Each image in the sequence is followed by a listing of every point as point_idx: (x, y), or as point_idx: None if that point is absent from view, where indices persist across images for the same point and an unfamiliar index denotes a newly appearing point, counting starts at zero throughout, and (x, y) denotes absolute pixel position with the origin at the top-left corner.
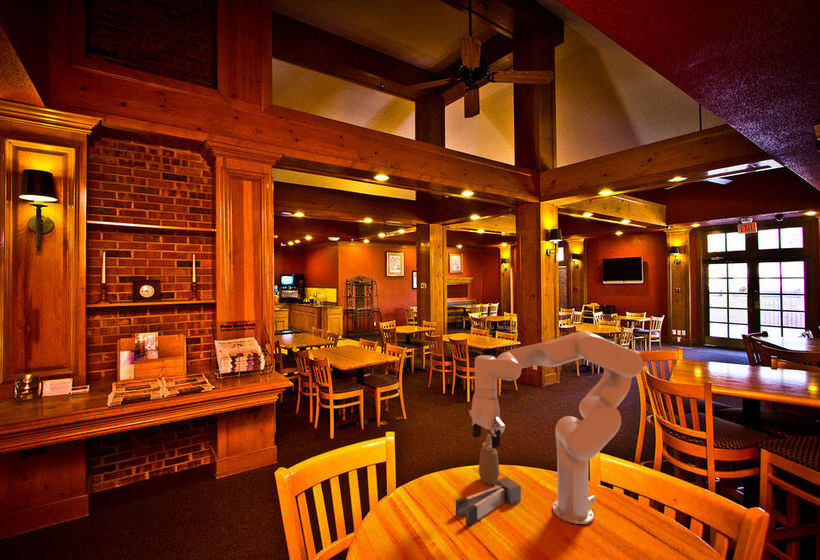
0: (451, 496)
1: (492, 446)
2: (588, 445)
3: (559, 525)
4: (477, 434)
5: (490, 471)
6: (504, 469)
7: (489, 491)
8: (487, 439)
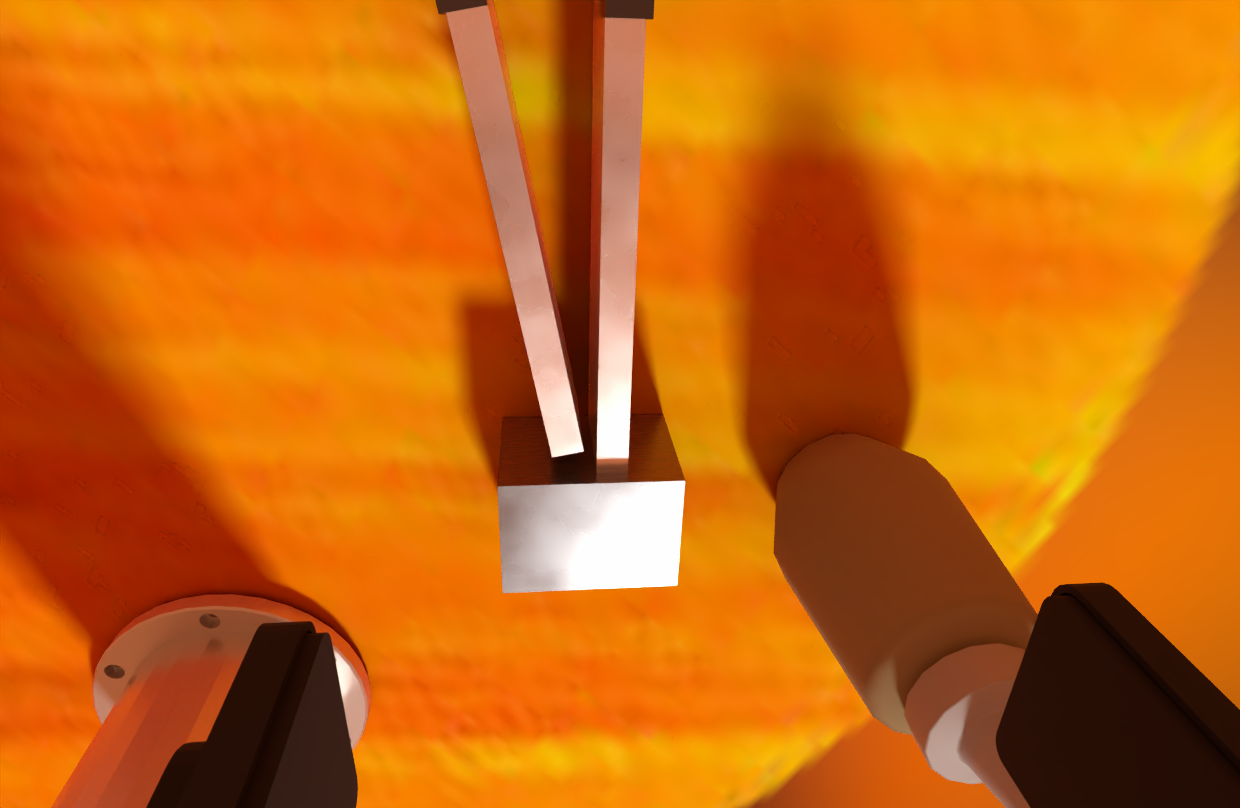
0: (887, 58)
1: (266, 651)
2: None
3: (159, 544)
4: (1057, 713)
5: (816, 522)
6: None
7: (598, 321)
8: None
